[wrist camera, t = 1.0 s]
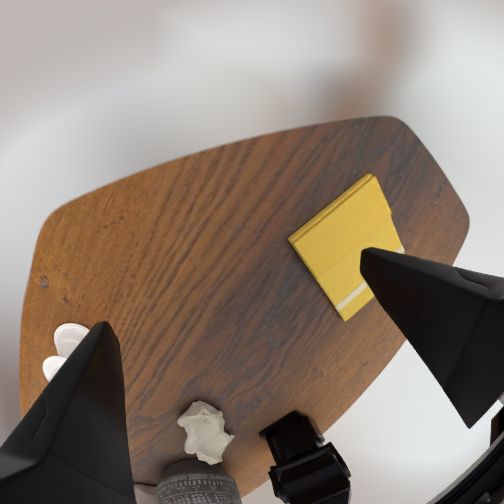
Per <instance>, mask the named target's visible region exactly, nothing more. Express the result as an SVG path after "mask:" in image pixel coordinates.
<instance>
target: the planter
mask: <svg viewBox="0 0 504 504" xmlns="http://www.w3.org/2000/svg"><path fill="white" fill-rule="evenodd" d="M157 491H158V500H159V504H242V502H241V499H240V495H239V491H238V488H237V485H236V482H235V480H234V479H233V478H232V477H231V476H230V475H229V474H228V473H227V472H226V471H225V470H223V469H222V468H221V467H220V466H218V465H217V464H212V465H210V464H209V463H208V462H206V461H202V460H199V459H193V460H183V461H179V462H176V463H174V464H172V465H170V466H169V467H168V469H167V470H166V471H165V473H164V474H163V476H162V477H161V479H160V481H159V482H158V485H157Z"/></svg>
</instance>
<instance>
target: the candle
mask: <svg viewBox="0 0 504 504" xmlns="http://www.w3.org/2000/svg"><path fill="white" fill-rule="evenodd" d="M89 331H90V330H89V329H87V328H86V327H84V326H82V325H79V324H75V323H66V324H63V325H61V326H59V327H58V328H57V330H56V331H55V335H54V341H55V345H56V347H57V352H58V355H59V356H51V357H48V358H47V359H46V360H45V361H44V363H43V371H44V374H45V376H46V378H47V379H48V381H49V382H50V381H51V379H52V378H53V377H54V375H55V374H56V373H57V371H58V370H59V369H60V367H61V366H62V365H63V363H64V362H65V361H66V360H67V358H68V357H69V356H70V354H71V353H72V352H73V351H74V349H75V348H76V347H77V346H78V344H79V343H80V342H81V341H82V339H83V338H84V337H85V336H86V334H87V333H88V332H89Z"/></svg>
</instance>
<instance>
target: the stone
mask: <svg viewBox="0 0 504 504" xmlns="http://www.w3.org/2000/svg"><path fill="white" fill-rule="evenodd" d="M133 485H134V491H135V496H136V501H137V504H159V500H158V491H157V487H151V486H146V485H143V484H133Z"/></svg>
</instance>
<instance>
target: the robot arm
mask: <svg viewBox="0 0 504 504" xmlns="http://www.w3.org/2000/svg"><path fill="white" fill-rule="evenodd" d="M360 273H361V276H362V277H363V279H364V280H365V282H366V283H367V285H368V286H369V288H370V289H371V291H372V292H373V294H374V295H375V297H376V299H377V300H378V302H379V303H380V305H381V306H382V307H383V309H384V310H385V311H386V312H387V314H388V315H389V316H390V318H391V319H392V320H393V321H394V323H395V324H396V325H397V327H398V328H399V329H400V330H401V332H402V333H403V334H404V336H405V337H406V338H407V340H408V341H409V342H410V344H411V345H412V346H413V348H414V349H415V350H416V352H417V353H418V355H419V356H420V357H421V359H422V360H423V362H424V363H425V364H426V365H427V367H428V368H429V370H430V371H431V373H432V374H433V376H434V377H435V378H436V380H437V381H438V383H439V384H440V386H441V387H442V389H443V390H444V392H445V393H446V395H447V396H448V398H449V399H450V401H451V402H452V404H453V406H454V407H455V409H456V410H457V412H458V413H459V415H460V416H461V418H462V419H463V421H464V423H465V424H466V426H467V427H468V428H469V429H470V428H471V427H472V426H473V425H474V424H475V423H476V422H477V421H478V420H479V419H480V418H481V417H482V416H483V415H484V414H485V413H486V412H487V411H488V410H489V409H490V408H491V407H492V406H493V404H494V403H495V402H496V401H497V400H499V401H500V402H501V403H502V404H503V405H504V278H502V277H497V276H493V275H488V274H483V273H478V272H474V271H469V270H466V269H462V268H458V267H453V266H450V265H446V264H442V263H438V262H434V261H430V260H426V259H422V258H418V257H414V256H409V255H405V254H401V253H397V252H393V251H388V250H384V249H380V248H375V247H368V248H365V249H363V250H362V251H361V256H360ZM259 436H260V437H262V438H264V439H266V440H267V443H268V445H269V448H270V450H271V453H272V455H273V458H274V460H275V463H276V466H271V467H270V469H271V471H270V472H268V474H269V476H270V479H271V481H272V486H273V490H274V494H275V496H276V497H277V498H280V499H281V500H282V501H283V502H284V503H285V504H350V498H351V485H350V481H349V479H348V478H350V477H351V474H350V471H349V469H348V467H347V465H346V464H345V462H344V461H343V459H342V457H341V456H340V454H339V453H338V452H337V450H336V449H335V447H334V446H333V444H332V443H331V442H329V443H327V444H326V445H323V442H324V441H325V439H324V437H323V435H322V433H321V432H320V430H319V428H318V426H317V425H316V423H315V421H314V420H312V419H311V418H309V417H308V416H304V415H302V414H301V413H299V412H298V411H294V412H292V413H290V414H289V415H287V416H286V417H284V418H283V419H281V420H279V421H278V422H276V423H275V424H273V425H271V426H270V427H268V428H266V429H265V430H263V431H261V432H260V433H259ZM0 504H137V501H136V496H135V491H134V485H133V479H132V472H131V465H130V457H129V448H128V438H127V427H126V412H125V389H124V378H123V370H122V361H121V352H120V344H119V340H118V338H117V336H116V334H115V333H114V331H113V329H112V327H111V326H110V324H109V323H108V322H107V321H102V322H98V323H96V324H95V325H94V326H93V327H92V328H91V330H90V331H89V332H88V333H87V334H86V336H85V337H84V338H83V339H82V341H81V342H80V343H79V344H78V346H77V347H76V348H75V349H74V351H73V352H72V353H71V354H70V356H69V357H68V358H67V360H66V361H65V362H64V363H63V365H62V366H61V367H60V369H59V370H58V371H57V373H56V374H55V375H54V377H53V378H52V379H51V381H50V382H49V383H48V385H47V386H46V387H45V389H44V390H43V392H42V394H40V396H39V397H38V399H37V400H36V401H35V403H34V404H33V406H32V407H31V408H30V410H29V411H28V412H27V414H26V415H25V416H24V418H23V419H22V420H21V422H20V423H19V424H18V426H17V427H16V428H15V429H14V430H13V432H12V433H11V434H10V435H9V437H8V438H7V439H6V441H5V442H4V443H3V445H2V446H1V447H0ZM427 504H504V406H503V407H502V408H501V409H500V410H499V412H498V413H497V414H496V415H495V416H494V417H493V418H492V420H491V437H490V447H489V449H487V451H486V452H485V453H484V454H483V455H482V456H481V457H480V458H479V459H478V460H477V461H476V462H475V463H474V464H473V465H472V466H471V467H470V468H468V469H467V470H466V471H465V472H464V473H463V474H462V475H461V476H460V477H459V478H458V479H457V480H455V481H454V482H453V483H452V484H451V485H450V486H448V487H447V488H446V489H445V490H443V491H442V492H441V493H440V494H438V495H437V496H436V497H435V498H433V499H432V500H431V501H429V502H428V503H427Z"/></svg>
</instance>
